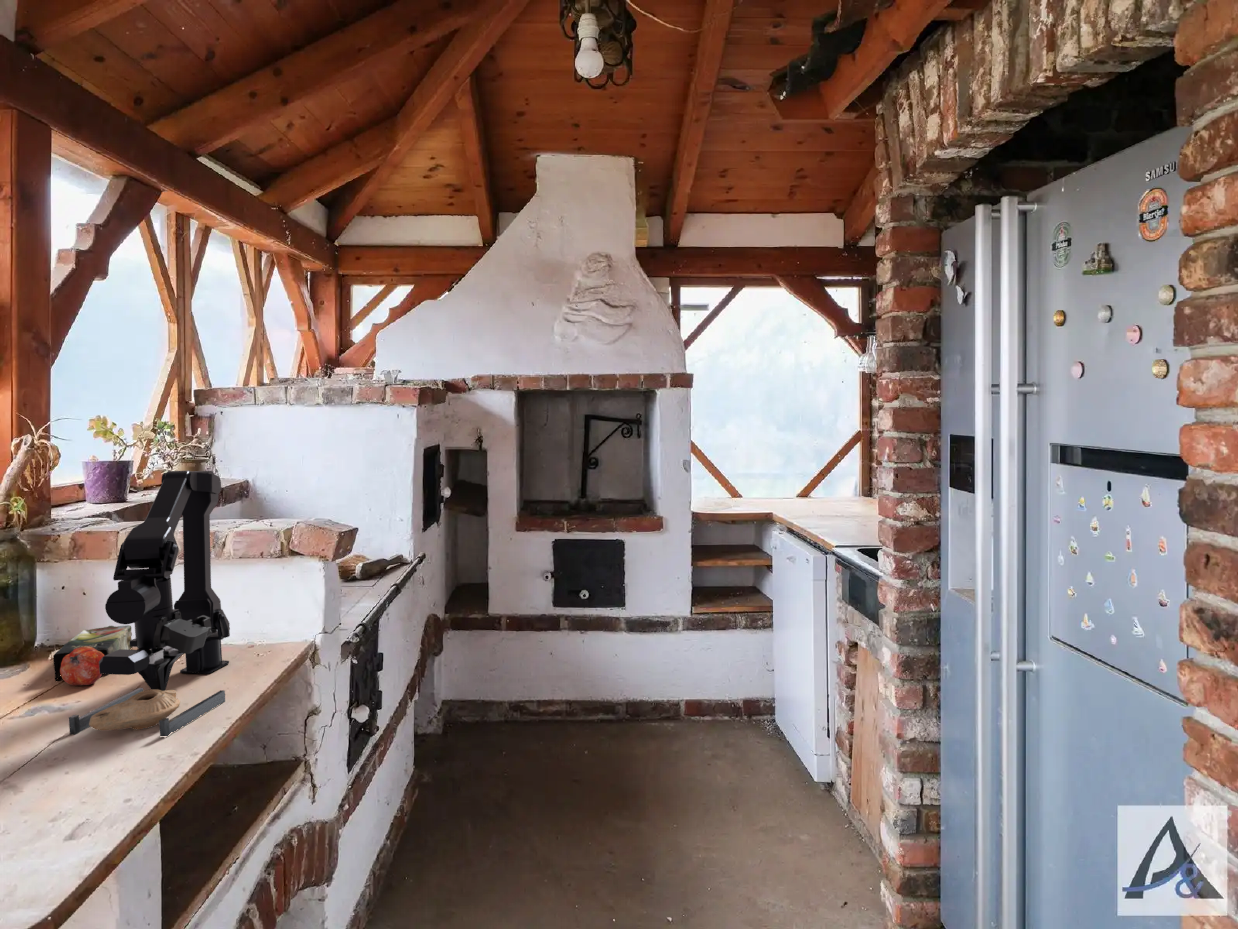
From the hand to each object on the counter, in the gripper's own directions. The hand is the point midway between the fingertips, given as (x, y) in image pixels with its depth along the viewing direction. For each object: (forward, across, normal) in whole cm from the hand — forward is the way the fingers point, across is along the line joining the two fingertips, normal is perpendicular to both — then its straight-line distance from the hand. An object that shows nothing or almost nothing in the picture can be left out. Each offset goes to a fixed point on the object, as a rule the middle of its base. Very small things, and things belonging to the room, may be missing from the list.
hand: (160, 696), depth 131 cm
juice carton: (+4, +23, +32) cm, 40 cm away
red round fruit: (+3, +12, +25) cm, 28 cm away
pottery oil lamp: (+3, -6, 0) cm, 7 cm away
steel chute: (+3, -2, 0) cm, 4 cm away
